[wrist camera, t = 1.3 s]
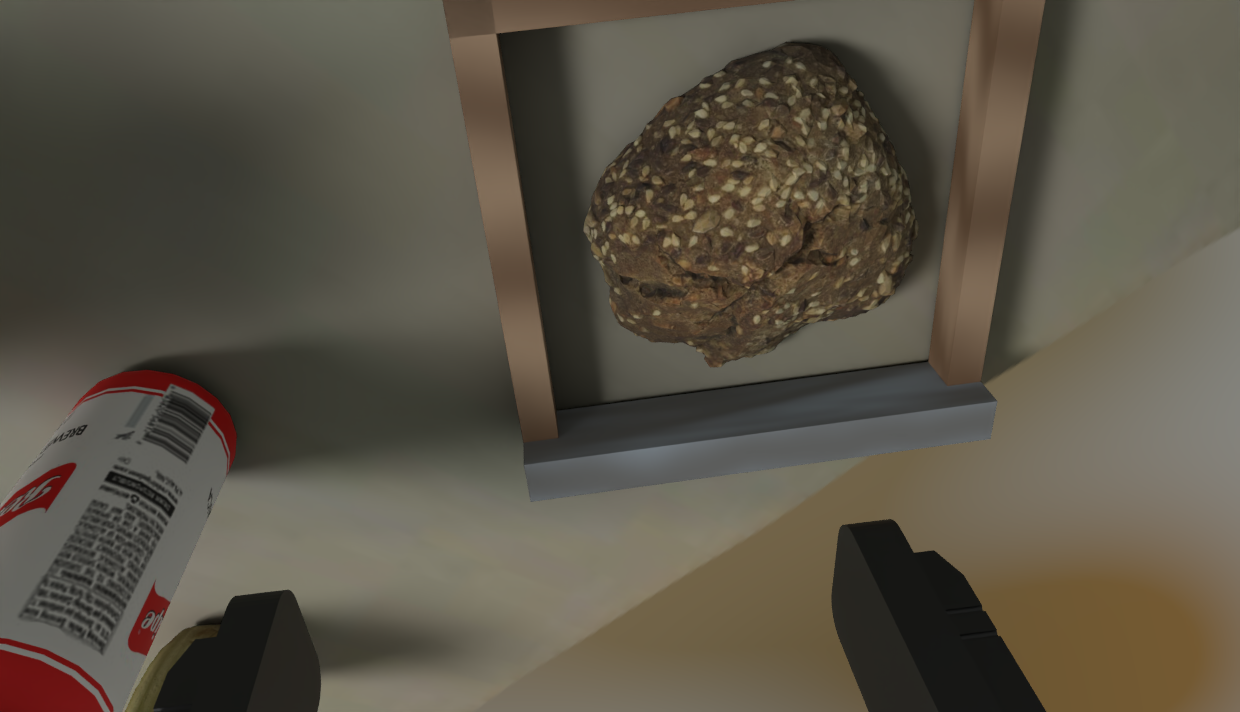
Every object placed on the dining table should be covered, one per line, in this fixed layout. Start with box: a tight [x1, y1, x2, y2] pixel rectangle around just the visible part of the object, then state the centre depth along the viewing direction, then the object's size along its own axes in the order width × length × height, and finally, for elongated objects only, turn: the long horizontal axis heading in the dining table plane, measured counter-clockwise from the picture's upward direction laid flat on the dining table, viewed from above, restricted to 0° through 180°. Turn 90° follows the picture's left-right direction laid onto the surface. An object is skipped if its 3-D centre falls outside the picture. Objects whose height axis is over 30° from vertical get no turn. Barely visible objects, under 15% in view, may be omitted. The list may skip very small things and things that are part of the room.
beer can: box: [0, 370, 237, 712], centre depth 30 cm, size 6×6×16 cm
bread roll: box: [583, 42, 919, 367], centre depth 33 cm, size 13×12×5 cm
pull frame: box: [443, 0, 1045, 502], centre depth 29 cm, size 24×20×9 cm
